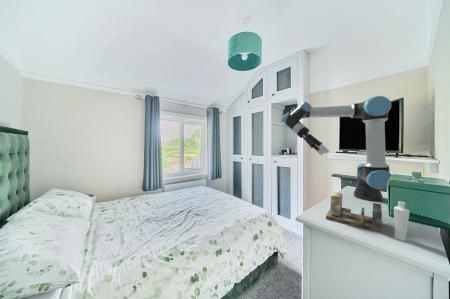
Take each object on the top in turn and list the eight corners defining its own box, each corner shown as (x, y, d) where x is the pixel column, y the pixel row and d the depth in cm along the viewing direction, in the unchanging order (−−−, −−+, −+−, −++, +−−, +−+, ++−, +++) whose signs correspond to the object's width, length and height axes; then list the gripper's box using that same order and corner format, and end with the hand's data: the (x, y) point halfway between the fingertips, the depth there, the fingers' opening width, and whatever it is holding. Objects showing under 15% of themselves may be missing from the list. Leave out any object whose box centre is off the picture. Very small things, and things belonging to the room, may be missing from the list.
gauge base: (325, 218, 88) (326, 201, 87) (330, 211, 97) (330, 195, 96) (381, 232, 74) (381, 212, 73) (380, 222, 83) (381, 204, 82)
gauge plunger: (330, 214, 88) (330, 195, 88) (333, 209, 94) (333, 192, 93) (349, 218, 83) (350, 198, 83) (351, 213, 88) (351, 194, 88)
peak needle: (360, 222, 79) (360, 213, 78) (361, 216, 85) (361, 207, 85) (363, 223, 78) (363, 214, 78) (364, 216, 85) (364, 208, 84)
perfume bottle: (399, 234, 72) (400, 199, 71) (410, 240, 68) (412, 203, 67) (388, 235, 72) (390, 200, 71) (399, 241, 68) (401, 204, 67)
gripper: (302, 134, 128) (325, 155, 119) (290, 134, 110) (315, 159, 101) (310, 126, 125) (334, 147, 116) (298, 125, 106) (326, 150, 97)
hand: (325, 153), depth 108 cm, fingers open, 13 cm apart
